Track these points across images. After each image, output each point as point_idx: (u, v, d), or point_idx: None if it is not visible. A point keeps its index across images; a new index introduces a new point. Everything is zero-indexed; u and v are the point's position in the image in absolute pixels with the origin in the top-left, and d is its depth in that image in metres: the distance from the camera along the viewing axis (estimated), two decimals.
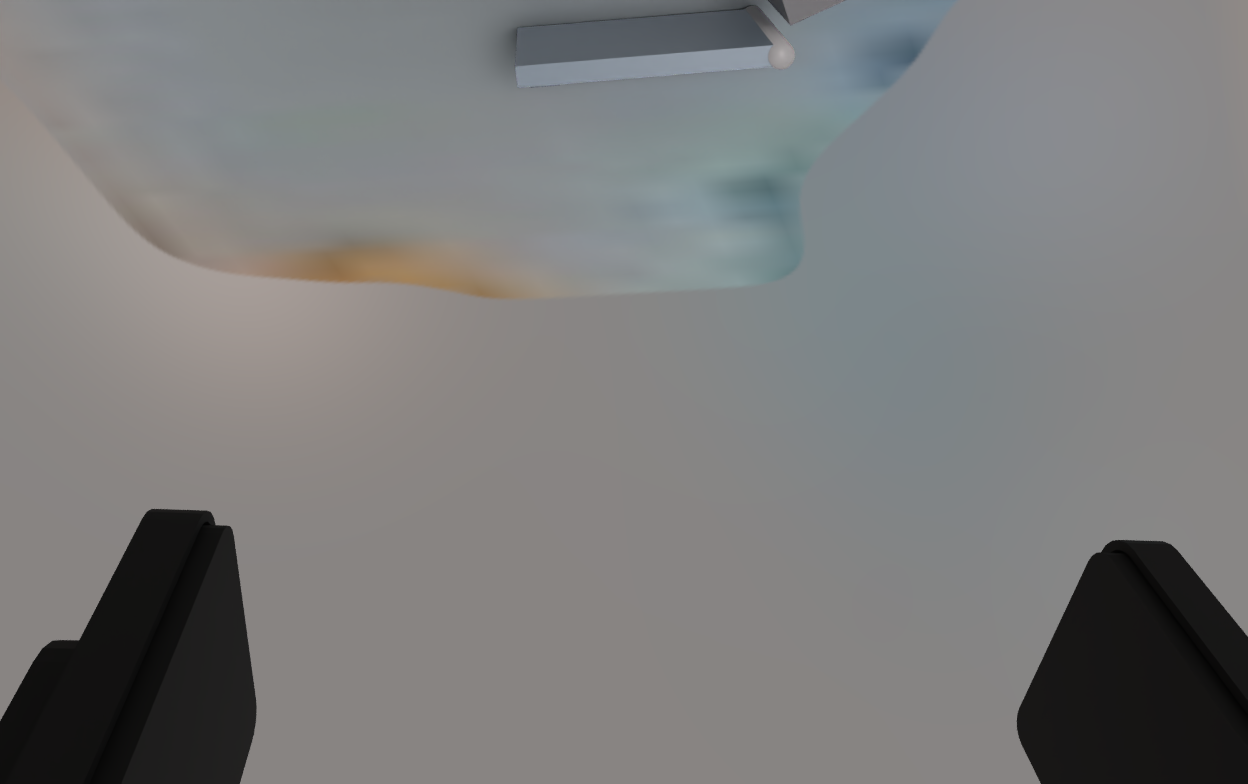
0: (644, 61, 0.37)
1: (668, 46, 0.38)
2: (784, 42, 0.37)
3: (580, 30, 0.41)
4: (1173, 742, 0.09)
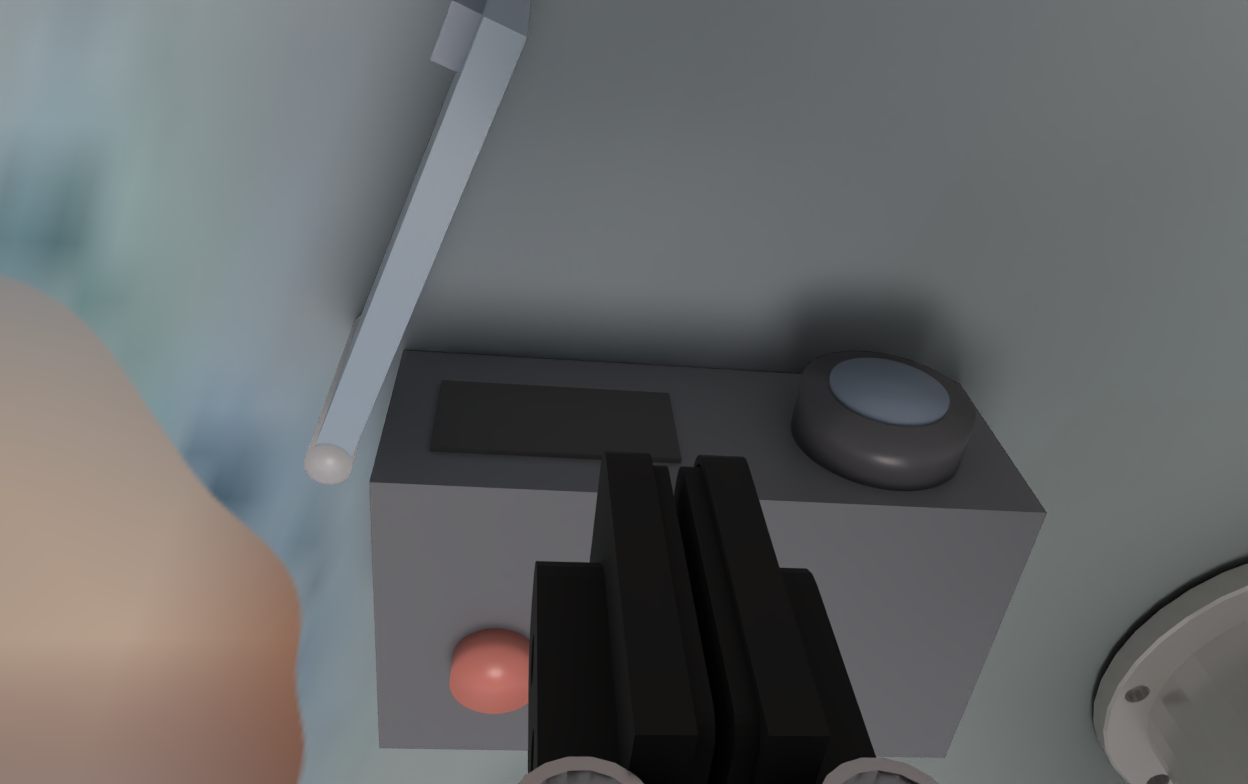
0: (419, 267, 0.19)
1: None
2: (348, 475, 0.22)
3: None
4: None
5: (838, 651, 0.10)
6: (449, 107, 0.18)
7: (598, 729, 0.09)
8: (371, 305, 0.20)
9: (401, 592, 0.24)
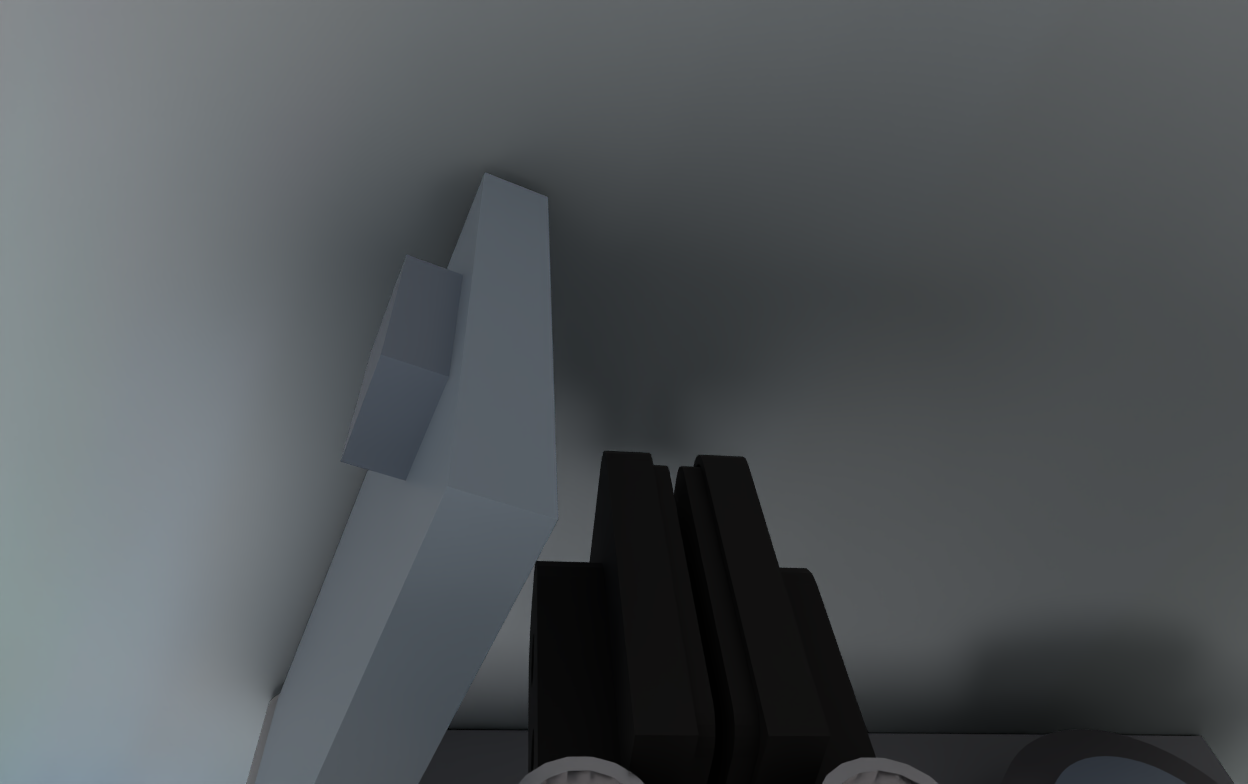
0: None
1: None
2: None
3: None
4: None
5: (838, 651, 0.10)
6: (375, 653, 0.07)
7: (598, 729, 0.09)
8: None
9: None
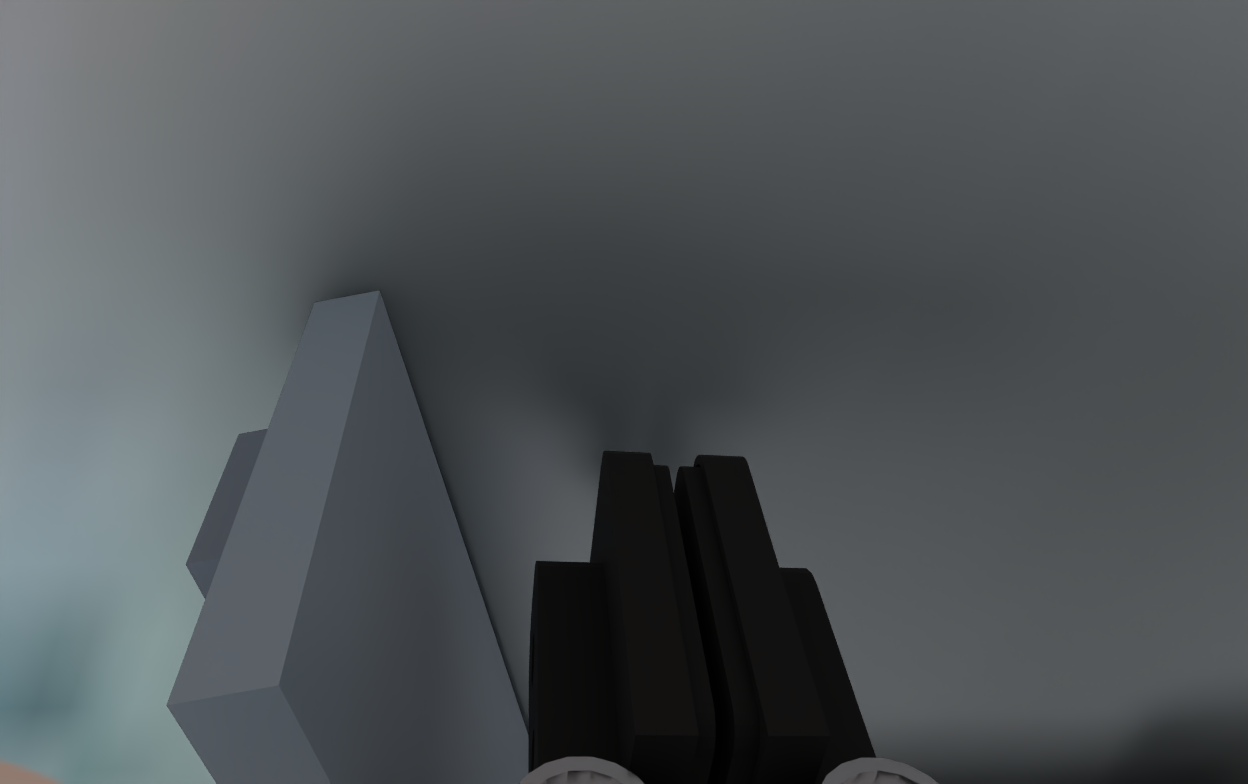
0: None
1: None
2: None
3: (428, 526, 0.12)
4: None
5: (838, 651, 0.10)
6: None
7: (599, 729, 0.09)
8: None
9: None
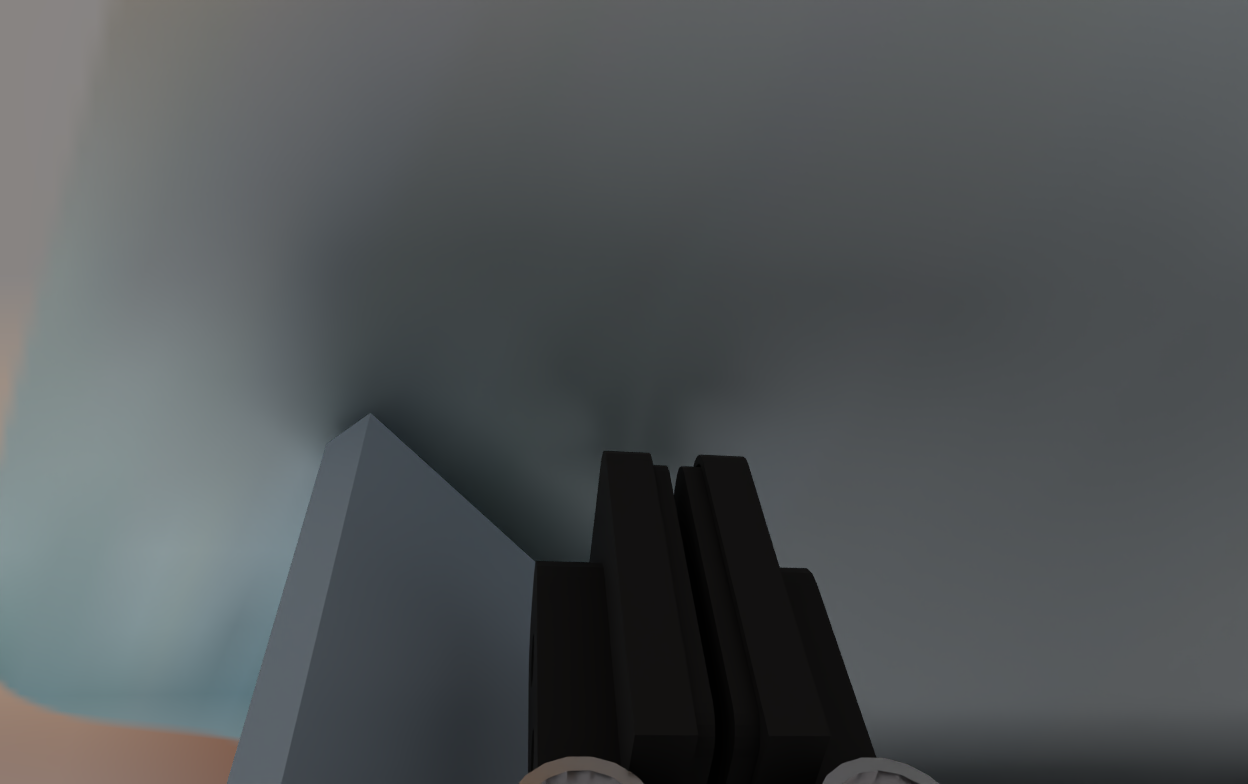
0: None
1: None
2: None
3: (496, 595, 0.13)
4: None
5: (838, 651, 0.10)
6: None
7: (598, 729, 0.09)
8: None
9: None
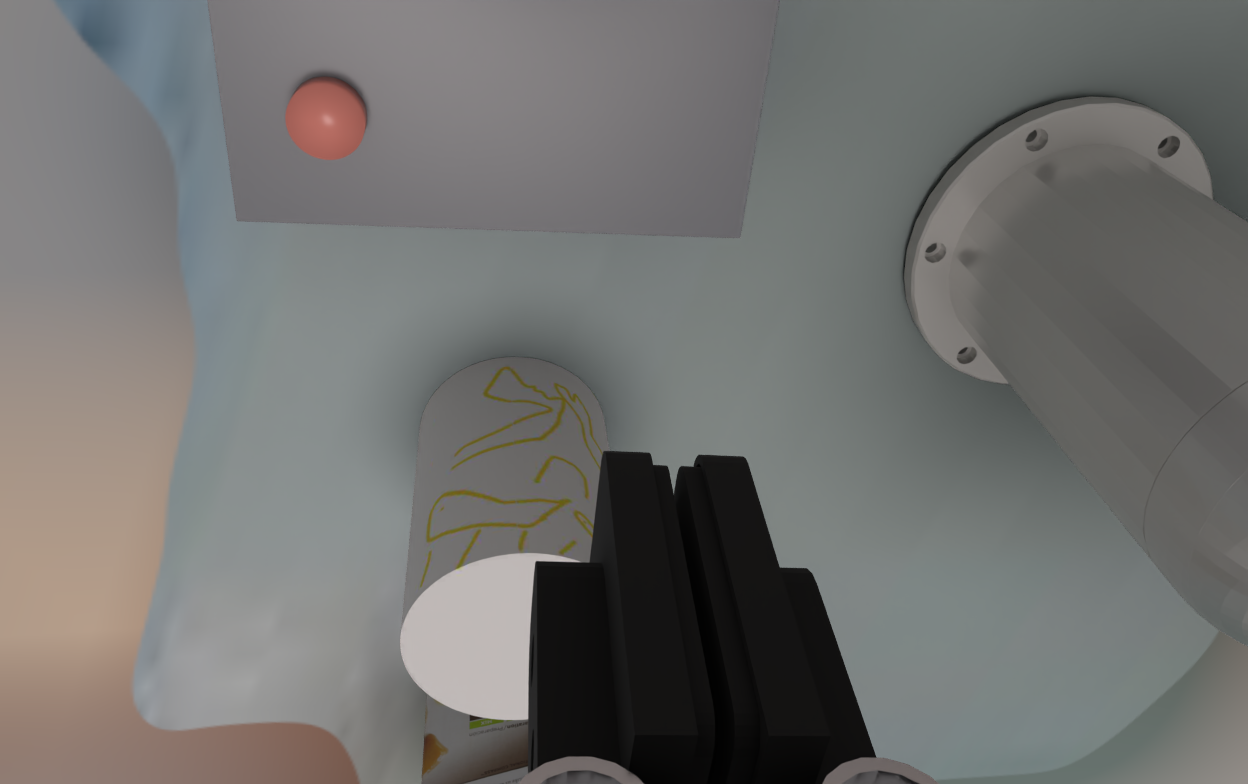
0: None
1: None
2: None
3: None
4: None
5: (838, 651, 0.10)
6: None
7: (598, 729, 0.09)
8: None
9: (236, 31, 0.28)
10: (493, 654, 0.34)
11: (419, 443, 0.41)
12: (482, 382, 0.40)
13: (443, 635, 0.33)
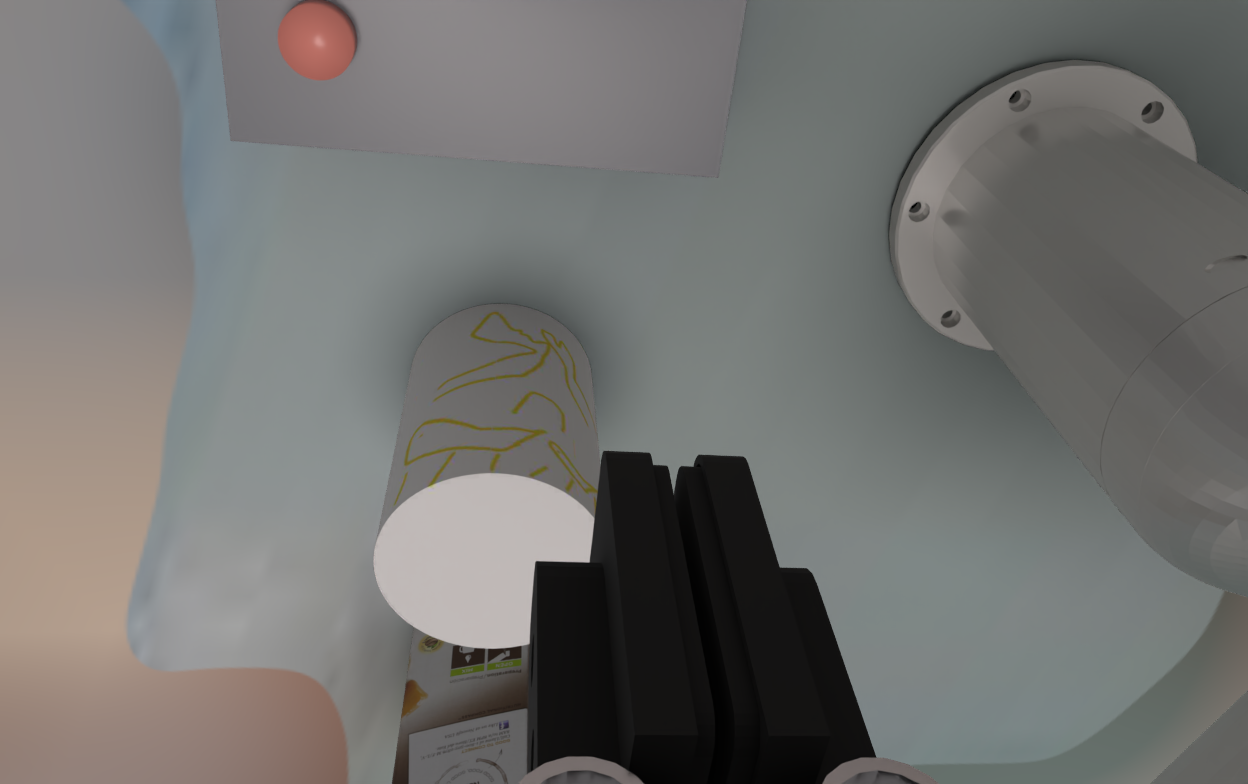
0: None
1: None
2: None
3: None
4: None
5: (838, 651, 0.10)
6: None
7: (598, 729, 0.09)
8: None
9: None
10: (465, 577, 0.35)
11: (408, 384, 0.42)
12: (470, 325, 0.41)
13: (416, 555, 0.34)
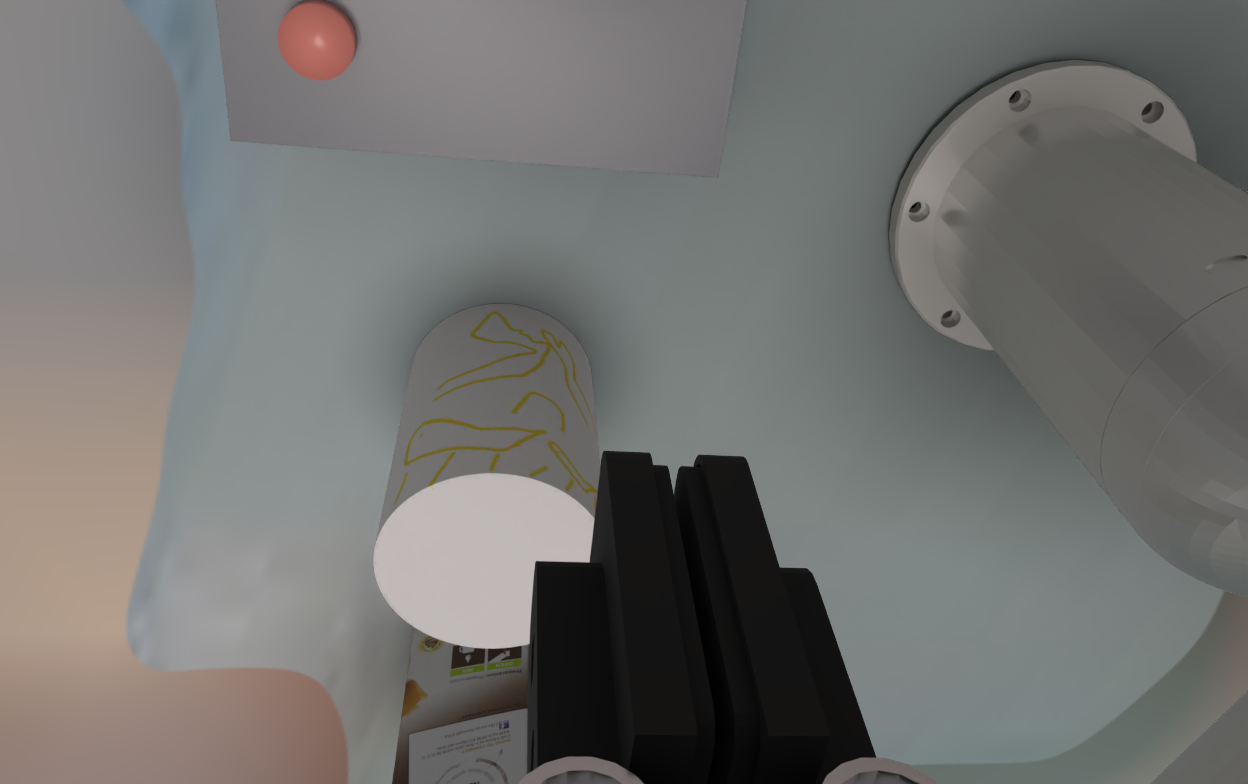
0: None
1: None
2: None
3: None
4: None
5: (838, 651, 0.10)
6: None
7: (598, 729, 0.09)
8: None
9: None
10: (464, 577, 0.35)
11: (408, 384, 0.42)
12: (470, 325, 0.41)
13: (415, 555, 0.34)
